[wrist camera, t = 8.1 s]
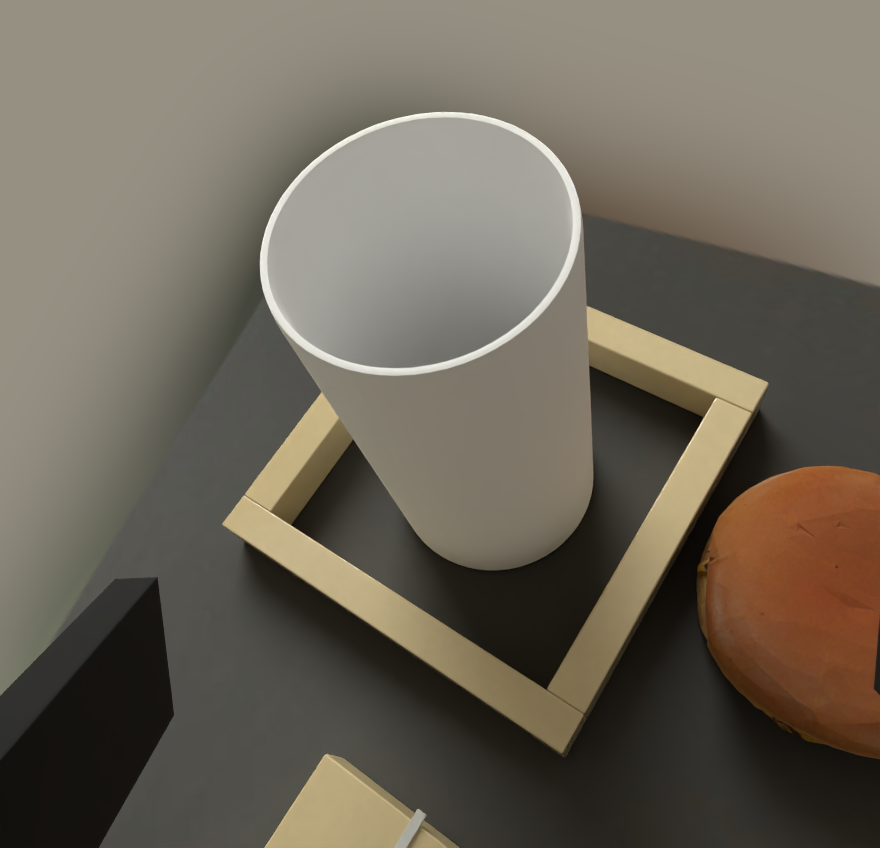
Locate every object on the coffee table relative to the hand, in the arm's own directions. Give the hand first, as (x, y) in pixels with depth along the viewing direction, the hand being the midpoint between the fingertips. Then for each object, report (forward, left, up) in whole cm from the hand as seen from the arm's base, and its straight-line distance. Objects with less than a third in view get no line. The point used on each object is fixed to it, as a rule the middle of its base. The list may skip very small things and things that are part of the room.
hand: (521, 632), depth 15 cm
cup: (+7, -7, -17) cm, 20 cm away
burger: (-6, -8, -17) cm, 20 cm away
